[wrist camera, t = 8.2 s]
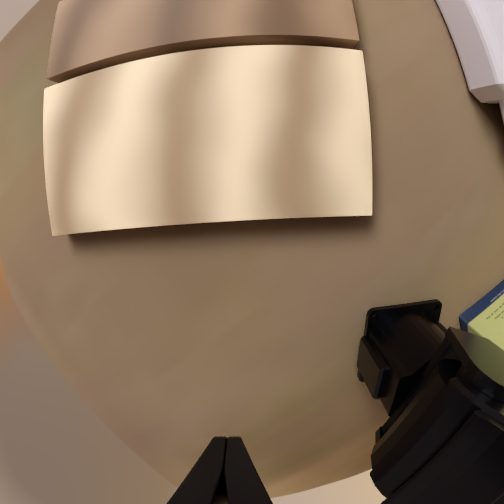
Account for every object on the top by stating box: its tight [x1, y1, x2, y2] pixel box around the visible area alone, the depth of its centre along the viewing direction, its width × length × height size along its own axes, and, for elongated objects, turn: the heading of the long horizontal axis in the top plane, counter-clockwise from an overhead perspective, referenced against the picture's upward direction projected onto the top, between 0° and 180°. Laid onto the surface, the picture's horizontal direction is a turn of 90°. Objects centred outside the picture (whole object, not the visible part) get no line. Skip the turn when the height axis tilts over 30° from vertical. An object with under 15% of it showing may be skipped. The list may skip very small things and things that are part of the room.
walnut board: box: [47, 0, 359, 83], centre depth 13 cm, size 20×7×2 cm, turn 93°
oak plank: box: [43, 45, 372, 236], centre depth 16 cm, size 20×10×2 cm, turn 93°
